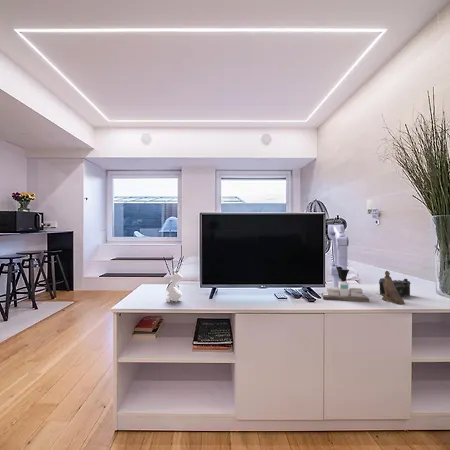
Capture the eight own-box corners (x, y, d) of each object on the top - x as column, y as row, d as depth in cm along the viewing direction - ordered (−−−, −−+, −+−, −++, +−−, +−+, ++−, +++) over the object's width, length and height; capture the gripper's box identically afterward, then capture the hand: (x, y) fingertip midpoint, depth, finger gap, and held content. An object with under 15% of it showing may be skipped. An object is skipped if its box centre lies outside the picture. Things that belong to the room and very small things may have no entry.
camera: (383, 297, 172) (383, 280, 172) (377, 294, 181) (377, 277, 181) (416, 298, 169) (416, 281, 169) (408, 294, 179) (408, 278, 178)
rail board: (321, 295, 178) (321, 285, 178) (364, 297, 173) (364, 287, 173) (323, 299, 168) (323, 289, 168) (369, 301, 163) (369, 291, 163)
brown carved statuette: (381, 303, 168) (376, 271, 172) (389, 302, 169) (384, 271, 173) (397, 304, 157) (391, 270, 160) (406, 304, 158) (400, 269, 162)
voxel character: (159, 290, 171) (174, 269, 170) (175, 302, 171) (191, 281, 170) (156, 293, 163) (172, 271, 163) (173, 306, 163) (189, 284, 163)
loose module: (338, 293, 174) (338, 281, 174) (346, 293, 173) (346, 281, 173) (340, 295, 169) (340, 283, 168) (348, 296, 168) (348, 283, 168)
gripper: (333, 255, 184) (333, 277, 184) (337, 258, 170) (337, 282, 170) (345, 255, 183) (345, 277, 183) (350, 258, 169) (350, 282, 169)
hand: (342, 280), depth 176 cm, fingers open, 7 cm apart
